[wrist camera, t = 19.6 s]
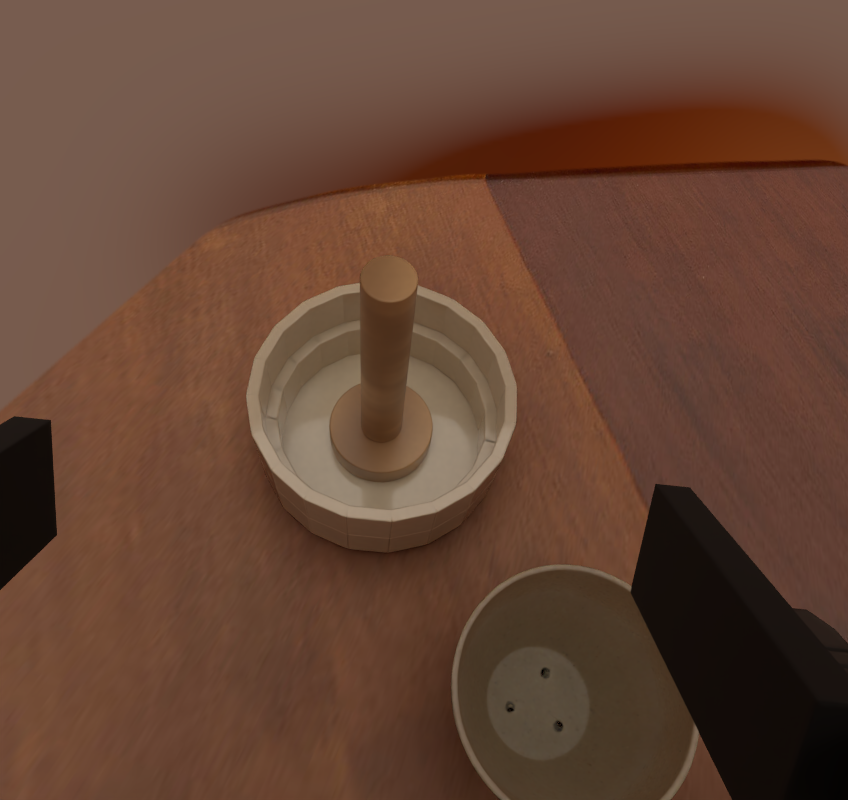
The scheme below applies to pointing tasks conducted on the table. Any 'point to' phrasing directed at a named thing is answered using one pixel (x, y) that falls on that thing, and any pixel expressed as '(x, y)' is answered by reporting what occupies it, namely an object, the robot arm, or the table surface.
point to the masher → (383, 382)
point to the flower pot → (568, 692)
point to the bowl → (341, 370)
